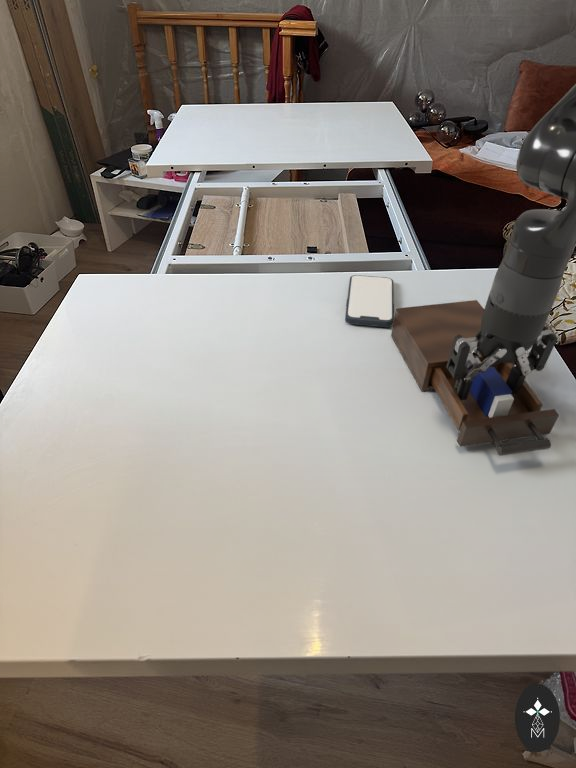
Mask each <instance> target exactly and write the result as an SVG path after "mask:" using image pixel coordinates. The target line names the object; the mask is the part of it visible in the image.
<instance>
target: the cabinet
mask: <svg viewBox="0 0 576 768" xmlns="http://www.w3.org/2000/svg"><path fill="white" fill-rule="evenodd" d="M484 309H485V307H483V306H482V305H481V303H480V302H479V300H477V299H474V300H464V301H463V300H462V301H453V302H445V303H435V304H424V305H416V306H405V307H396V308H394V321H393V325H392V326H391V332H390V333H391V334H390V337H391V338H392V340H393V342H394V344H395V345H396V348H397V349H398V351H399V353H400V355H401V356H402V358H403V360H404V362H405V364H406V366H407V368H408V370H409V371H410V373H411V375H412V377H413V379H414V381H415V382H416V384H417V386H418V388H419V389H420V391H421V392H428V391H429V392H430V391H435V389H434V388H433V386H432V384H431V382H430V381H429V380H430V375H431V371H432V367H437V366H445V365H447V362H448V359H449V355H450V351H451V348H452V344H453V340H454V337H455V336H457V335H462V336H463V338H472V337H475V336H476V334H477V333H478V332H479V331H480V329H481V320H482V315H483V312H484ZM478 358H479V360H480V361H484V358H483V357H482V356H481V354H479V356H478ZM512 364H513V366H516V365H515V364H514V362H512Z"/></svg>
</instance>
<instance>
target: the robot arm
mask: <svg viewBox="0 0 576 768" xmlns="http://www.w3.org/2000/svg"><path fill="white" fill-rule="evenodd" d="M517 153H518V154H517V157H516V166H515V167H516V174H517V177H518V179H519V180H520V182H521V183H522V184H524V185H525V186H527V187H529V188H532V189H534V190H537V191H541V192H543V193H546V194H549V195H552V196H554V197H558V198H560V199H564V200H566V201H567V203H566V205H565V207H564V209H563V210H555V209H547V208H546V209H545V208H534V209H529V210H525V211H523V212H521V214H520V215H519V216H518V217H517V218H516V221H515V222H514V224H513V227H512V230H511V233H510V236H509V239H508V242H507V245H506V248H505V251H504V254H503V257H502V260H501V262H500V264H499V266H498V268H497V270H496V273H495V276H494V278H493V282H492V284H491V289H490V291H489V293H488V296H487V300H486V303H485V306H484V312H483V315H482V320H481V329H480V331H479V332H478V333H477V334H476V336H475V337H472V338H463V336H462V335H457V336H455V337H454V340H453V344H452V348H451V351H450V355H449V359H448V362H447V366H446V367H447V369H448V370H449V372H450V373H451V375H452V377H453V379H454V380H456V383H455V386H454V391H455V393H456V394H457V396H458V397H459V398H460V400H466V399H467V397H468V394H469V391H470V388H471V386H472V383H473V381H472V379H474V378H475V377H476V376H477V375H478V374H479V373H480V372H485V371H486V370H487V369H488V368H489V367H490V366H491V365H496V364H499V363H512V362H514V364H515V365H514V366H512V368H511V371H510V373H509V376H508V378H507V381H506V384H507V385H508V387H509V388H510V389H511V391H512V394H517V392H518V390H520V388H521V387H522V385H523V383H524V380H525V381H526V378H527V377H528V376H529V375H530V374H531V373H532V372H533V371H535V370H536V372H540V371H542V370H543V369H545V366H546V365H547V363H548V360H549V358H550V356H551V353H552V352H553V350H554V347H555V345H556V343H557V341H558V337H557V336H556V334H555V333H553V332H552V330H551V329H550V328H549V327H548V326H546V322H547V320H548V318H549V316H550V313H551V311H552V309H553V306H554V303H555V301H556V300H557V297H558V294H559V291H560V289H561V287H562V286H561V285H562V282H563V278H564V274H565V272H566V268H567V266H568V264H569V263H570V259H571V257H572V255H573V252H574V250H575V247H576V83H575V84H574V85H573V86H572V87H571V88H570V89H568V91H567V92H566V93H565V95H564V96H563V97H562V98H561V99H560V100H558V102H557V103H555V105H553V107H552V108H551V109H549V111H548V112H546V113H545V114H544V115H543V116H542V118H540V120H539V121H537V123H535V125H534V126H533V127H532V129H531V130H530V131H529V133H528V134H527V136H526V137H525V139H524V140H523V141H522V143H521V146H520V147H519V151H518V152H517ZM529 349H530V351H529V352H528V355H527V351H528V350H529ZM479 354H481V356H482V357H483V358H484V361H483V362H481V361H480V360H479V358H478V356H479ZM472 364H473V368H472V369H471V370H470V371H469V370H468V368H469V367H470V366H471V365H472Z"/></svg>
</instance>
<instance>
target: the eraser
mask: <svg viewBox="0 0 576 768" xmlns="http://www.w3.org/2000/svg"><path fill="white" fill-rule="evenodd" d="M470 393H471V394H472V396H473V397H474V399H475V400H476V402H477V403H478V405H479V407H480V408H481V410H482V411H483V413H484V414H485V416H486V417H487V416H489V417H490V418H492V417H499V416H506V415H508V413H509V410H510V408H511V405H512V403H513V400H514V398H513V397H512V391H511V389H510V388H509V387H508V385H507V384H506V382H505V381H504V380H503V378H502V377H501V376H500V374H499V373H498V372H497V370H496V369H495V367H489V368H488V369H487V370H486V371H485V372H480V373H479V374H478V375H477V376H476V377H475V378H474V379H473V383H472V386H471V388H470Z"/></svg>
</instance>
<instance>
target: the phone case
mask: <svg viewBox="0 0 576 768" xmlns="http://www.w3.org/2000/svg"><path fill="white" fill-rule="evenodd" d="M348 283H349V284H348V291H347V298H346V304H345V307H346V308H345V319H344V320H345V322H346V323H348V324H351V325H357V326H358V325H359V326H360V325H361V326H368V327H369V326H370V327H371V326H372V327H379V328H381V327H383V328H390V327H393V321H394V315H395V302H394V301H395V300H394V295H395V294H394V280H393V278H391V277H388V276H387V277H386V276H373V275H361V274H354V275H351V276H350V277H349V281H348Z"/></svg>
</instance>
